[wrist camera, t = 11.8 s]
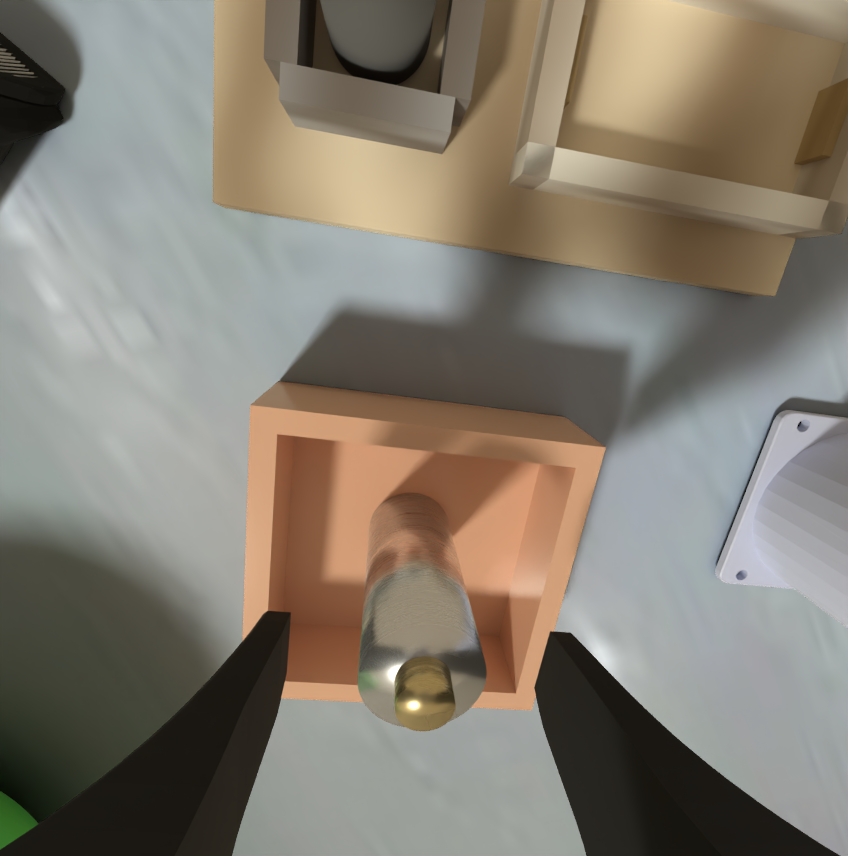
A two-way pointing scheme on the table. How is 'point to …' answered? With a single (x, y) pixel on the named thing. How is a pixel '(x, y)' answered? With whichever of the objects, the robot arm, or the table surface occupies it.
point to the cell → (417, 619)
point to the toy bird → (13, 820)
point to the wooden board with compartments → (553, 131)
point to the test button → (380, 36)
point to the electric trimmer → (25, 97)
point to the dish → (410, 473)
